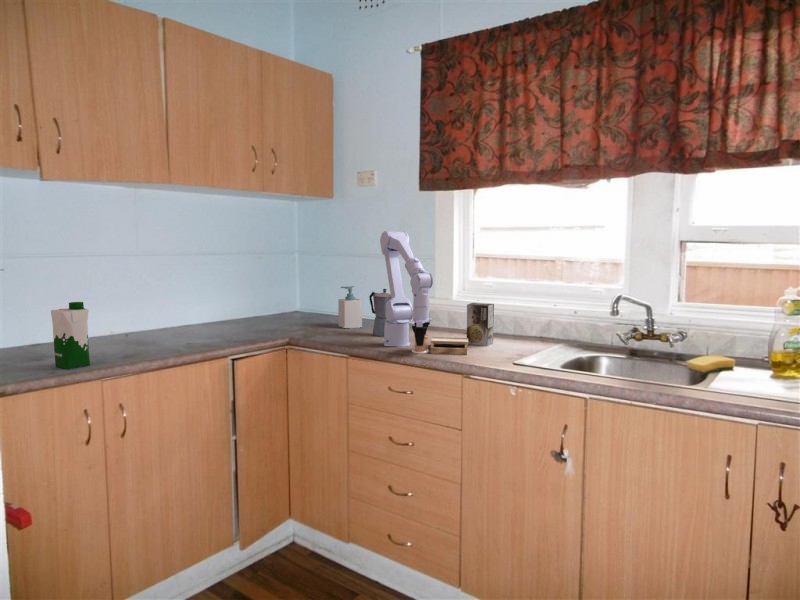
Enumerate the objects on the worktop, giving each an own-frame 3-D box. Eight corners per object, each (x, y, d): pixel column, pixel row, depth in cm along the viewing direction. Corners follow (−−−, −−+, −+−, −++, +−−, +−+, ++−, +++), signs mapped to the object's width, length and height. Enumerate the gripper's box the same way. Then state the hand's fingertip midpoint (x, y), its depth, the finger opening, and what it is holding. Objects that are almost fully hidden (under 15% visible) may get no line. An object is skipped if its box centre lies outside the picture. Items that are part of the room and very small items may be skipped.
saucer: (410, 354, 195) (410, 351, 195) (412, 350, 201) (412, 348, 201) (428, 354, 194) (428, 352, 194) (430, 351, 200) (430, 348, 200)
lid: (430, 343, 202) (430, 340, 202) (432, 339, 211) (432, 336, 210) (468, 344, 200) (468, 342, 200) (468, 340, 209) (468, 337, 209)
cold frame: (430, 354, 194) (430, 347, 194) (432, 346, 210) (433, 339, 210) (467, 355, 193) (467, 348, 192) (466, 347, 208) (467, 340, 208)
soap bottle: (338, 326, 256) (337, 285, 254) (355, 325, 260) (355, 285, 258) (344, 328, 249) (343, 287, 246) (362, 327, 252) (362, 286, 250)
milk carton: (94, 365, 174) (91, 302, 172) (64, 370, 166) (60, 305, 164) (80, 361, 179) (77, 300, 177) (50, 366, 171) (46, 303, 169)
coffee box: (493, 344, 214) (494, 303, 213) (487, 347, 209) (488, 305, 207) (472, 342, 219) (473, 302, 217) (465, 344, 213) (466, 303, 212)
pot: (427, 351, 195) (427, 336, 194) (413, 351, 195) (413, 336, 195) (428, 349, 200) (428, 334, 199) (414, 348, 200) (414, 334, 200)
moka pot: (389, 338, 225) (389, 290, 223) (361, 334, 234) (361, 288, 232) (403, 335, 233) (403, 288, 230) (375, 331, 242) (375, 286, 240)
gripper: (431, 309, 188) (430, 348, 190) (433, 304, 202) (432, 340, 204) (410, 308, 189) (410, 347, 190) (414, 303, 203) (414, 339, 205)
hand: (420, 343), depth 197 cm, fingers open, 7 cm apart
